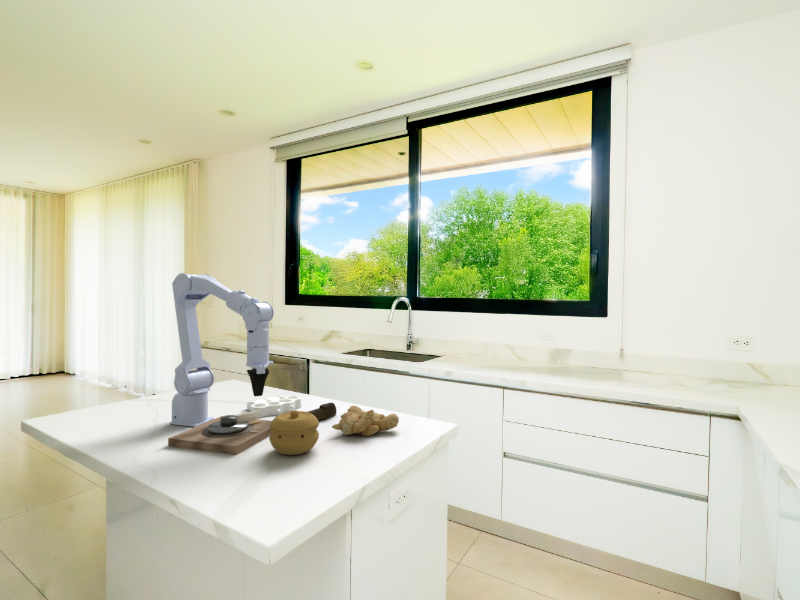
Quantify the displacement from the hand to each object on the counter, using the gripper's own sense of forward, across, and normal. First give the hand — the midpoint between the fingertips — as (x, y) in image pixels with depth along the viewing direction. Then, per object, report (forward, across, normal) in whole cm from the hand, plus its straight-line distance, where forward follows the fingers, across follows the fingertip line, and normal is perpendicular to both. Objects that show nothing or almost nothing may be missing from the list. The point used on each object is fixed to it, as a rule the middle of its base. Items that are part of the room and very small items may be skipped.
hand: (257, 395), depth 115 cm
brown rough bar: (+11, +5, -16) cm, 20 cm away
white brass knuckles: (+11, +23, -8) cm, 26 cm away
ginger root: (+11, -10, -27) cm, 31 cm away
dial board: (+10, 0, +8) cm, 13 cm away
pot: (+11, -17, -7) cm, 21 cm away
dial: (+8, +1, +6) cm, 10 cm away
